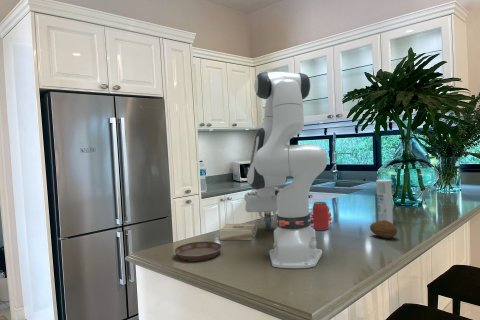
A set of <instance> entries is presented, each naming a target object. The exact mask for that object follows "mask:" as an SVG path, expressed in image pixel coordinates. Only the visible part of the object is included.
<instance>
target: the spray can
mask: <svg viewBox="0 0 480 320" xmlns="http://www.w3.org/2000/svg"><path fill="white" fill-rule="evenodd" d="M375 183H376V184H375V185H376V189H375V190H376V202H377V219H378V220H377V222H379V221H382V220H386V221H389V222H391V223H392V224H393V225H394V214H393V212H394V211H393V190H392V189H393V187H392V179H376V181H375Z"/></svg>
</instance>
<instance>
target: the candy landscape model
mask: <svg viewBox="0 0 480 320" xmlns="http://www.w3.org/2000/svg"><path fill="white" fill-rule="evenodd" d="M327 207H328V223H329V225H331V224H333V219H332V217H331V216H332V213H331V211H330V210H331V208H330V207H329V206H328V205H327ZM308 208H309V214H310V218H311V224H310V226H311V227H314V222H313V206H311V205H309V204H308Z"/></svg>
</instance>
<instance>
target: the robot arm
mask: <svg viewBox="0 0 480 320" xmlns="http://www.w3.org/2000/svg"><path fill="white" fill-rule="evenodd" d="M253 84H254V86H253V87H254V92H255V94H256V96H257V97H258V98H260V99H263V100H265V106H264V117H263V122H262V125H261V126H260V128H258V130H257V131H256V133H255V137H254V142H253V147H252V152H251V157H250V163H249V167H248V170H247V172H246V173H247V174H246V182H247V184H248V185H249V186H250V187H251V188H253V190H256V191H252V192H249V191H248V192H246V193H245V194H244V195H243V196H244V202H245V206H244V207H245V211H246V213H258V216H259V218H261V222H265V217H264V216H263V215H262V214H263V213H264V212H272V214H273V216H271V222H275V217H276V225H277V226H276V228H275V229H274V230H273V238H274V239H273V240H274V243H273V244H272V247H273V249H270V250H269V259H270V263H271V265H272V267H274V268H279V269H307V268H308V269H309V268H314V267H316V266H317V264H318V262H319V260H320V258H321V257H322V255H323V250H322V249H319V248H317V247H318V243H317V235H316V230H315V229H314V227H313V226H310V224H311V218H310V214H309V208H308V205H309V194H310V189H311V187H312V184H313V183H314V181H315V179H317V177H318V176H320V174H321V173H323V172H324V171H325V169H326V167H327V165H328V155H327V152H326V151H325V149H324V148H323V146H321V145H317V144H316V145H315V144H311V143H310V144H308V143H307V144H306V143H305V144H288V143H289V141H290V140H291V139H293V138H295V137H296V136H298V135H299V134H300V133H301V132H302V131H303V130H304V127H305V123H304V122H305V118H304V103H303V100H305V99H306V98H308V96H309V95H310V90H311V81H310V77H309V76H308V75H307V74H306V73H302V72H297V73H296V72H290V71H262V72H260V73H258V74H257V76H256V78H255V80H254V83H253ZM288 177H292V178H293V180H292V181H291V183H289V184H288V185H286V186H284V187H282V188H280V187H278V186H282V185H285V184H286V182H287V181H288Z"/></svg>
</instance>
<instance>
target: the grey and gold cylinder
mask: <svg viewBox="0 0 480 320" xmlns="http://www.w3.org/2000/svg"><path fill="white" fill-rule="evenodd" d="M263 214H264V216H263V217H265V221H264V227H265V228H264V230H265V231H266V232H270V231H272V228H273V227H272V221H271V217H272V215H271V214H272V213H271V212H263Z"/></svg>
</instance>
